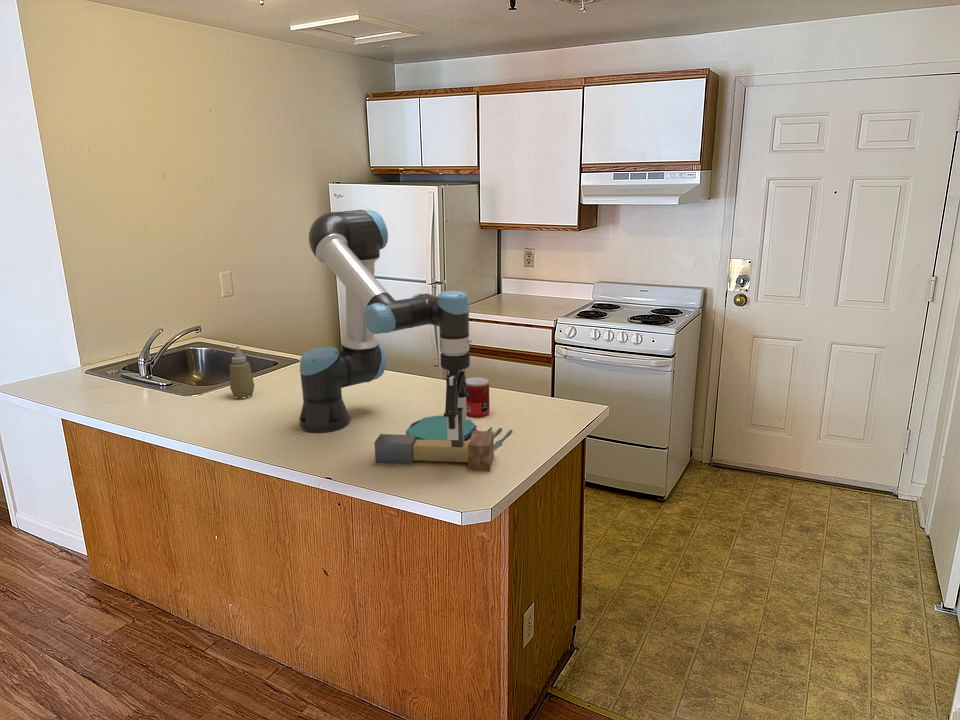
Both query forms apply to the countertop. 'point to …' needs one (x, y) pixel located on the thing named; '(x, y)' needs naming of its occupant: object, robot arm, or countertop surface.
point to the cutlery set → (444, 429)
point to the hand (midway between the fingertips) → (457, 429)
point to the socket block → (481, 450)
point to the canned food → (477, 397)
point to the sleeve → (394, 449)
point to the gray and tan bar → (443, 447)
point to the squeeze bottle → (241, 376)
